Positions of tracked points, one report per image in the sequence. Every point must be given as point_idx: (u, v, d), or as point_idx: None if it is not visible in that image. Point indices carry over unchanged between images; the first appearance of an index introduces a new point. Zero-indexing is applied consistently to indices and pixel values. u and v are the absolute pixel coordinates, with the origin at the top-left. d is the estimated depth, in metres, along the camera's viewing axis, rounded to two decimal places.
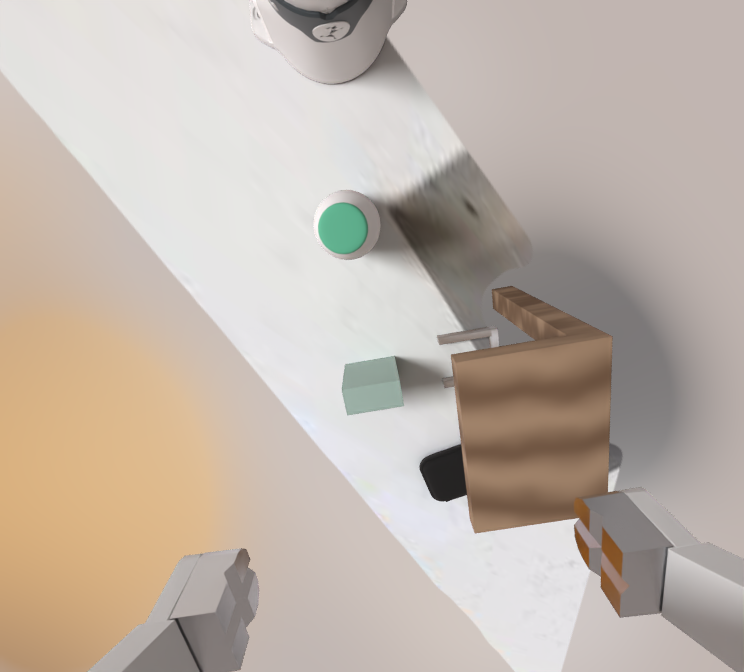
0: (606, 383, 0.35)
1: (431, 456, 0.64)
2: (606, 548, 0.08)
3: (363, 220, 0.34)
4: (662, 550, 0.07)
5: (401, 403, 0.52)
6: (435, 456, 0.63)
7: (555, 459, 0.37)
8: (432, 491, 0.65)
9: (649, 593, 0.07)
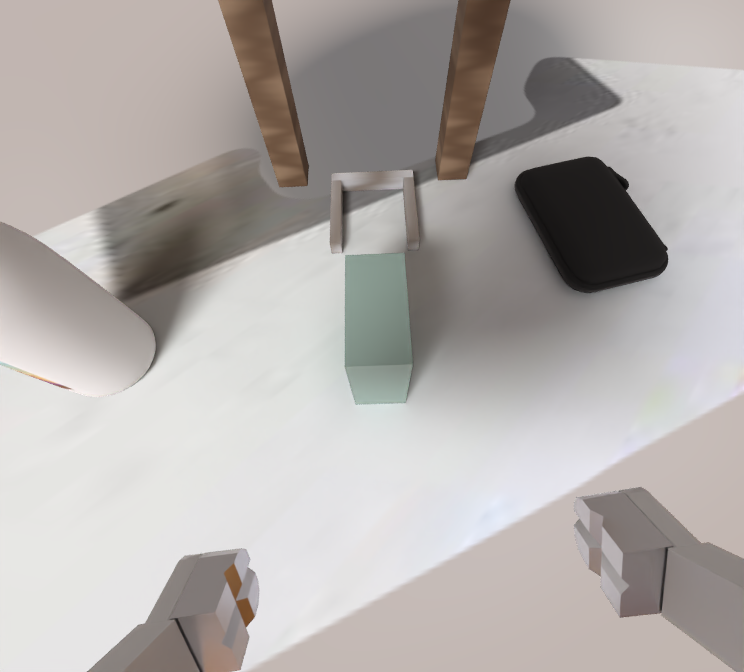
0: None
1: (561, 269, 0.33)
2: (606, 548, 0.08)
3: None
4: (662, 550, 0.07)
5: (397, 256, 0.25)
6: (560, 261, 0.33)
7: None
8: (644, 268, 0.32)
9: (649, 593, 0.07)
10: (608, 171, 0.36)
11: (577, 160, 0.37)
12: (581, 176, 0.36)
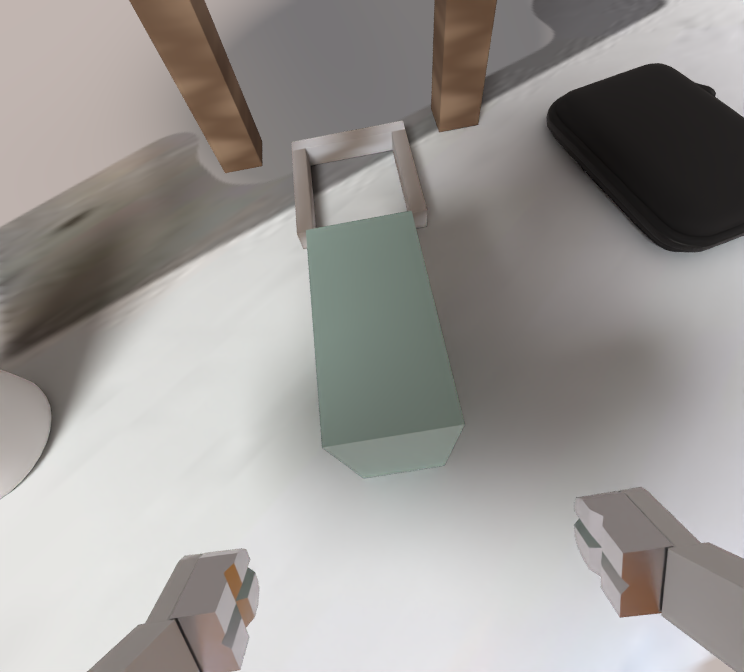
0: None
1: (647, 223, 0.22)
2: (606, 548, 0.08)
3: None
4: (662, 550, 0.07)
5: (400, 218, 0.14)
6: (643, 211, 0.22)
7: None
8: None
9: (649, 593, 0.07)
10: (684, 77, 0.25)
11: (633, 70, 0.26)
12: (646, 88, 0.25)
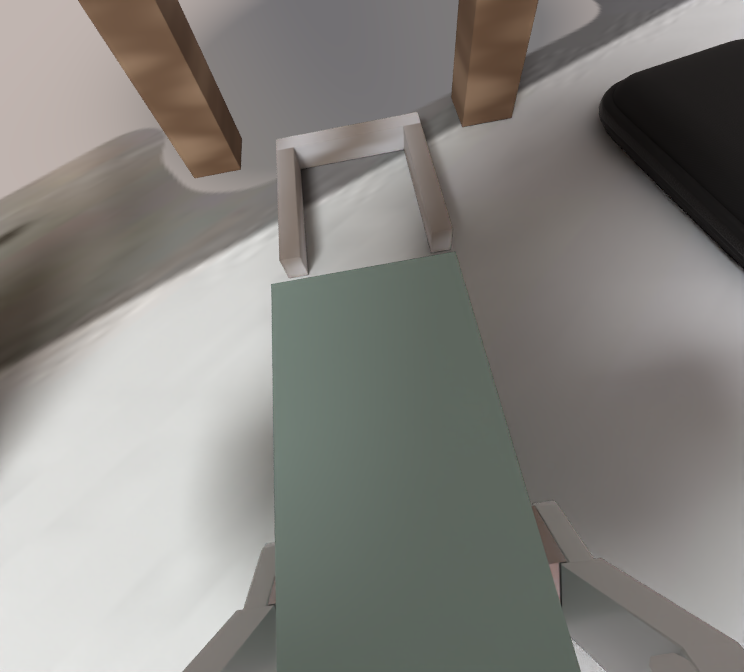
0: None
1: None
2: None
3: None
4: (556, 565, 0.07)
5: (436, 265, 0.08)
6: (743, 236, 0.16)
7: None
8: None
9: None
10: None
11: (717, 48, 0.20)
12: (737, 70, 0.19)
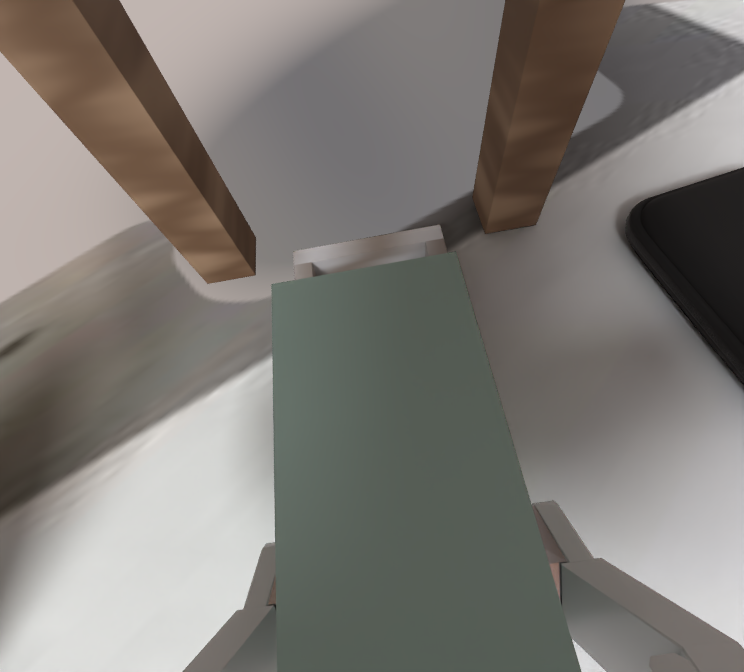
0: None
1: None
2: None
3: None
4: (557, 565, 0.07)
5: (436, 265, 0.08)
6: None
7: None
8: None
9: None
10: None
11: None
12: None
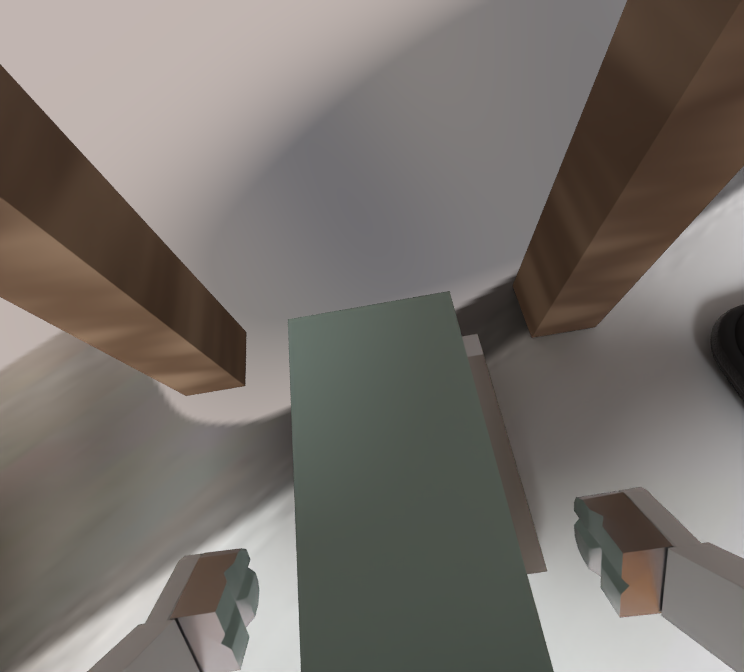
0: None
1: None
2: (606, 548, 0.08)
3: None
4: (662, 550, 0.07)
5: (432, 303, 0.09)
6: None
7: None
8: None
9: (649, 593, 0.07)
10: None
11: None
12: None
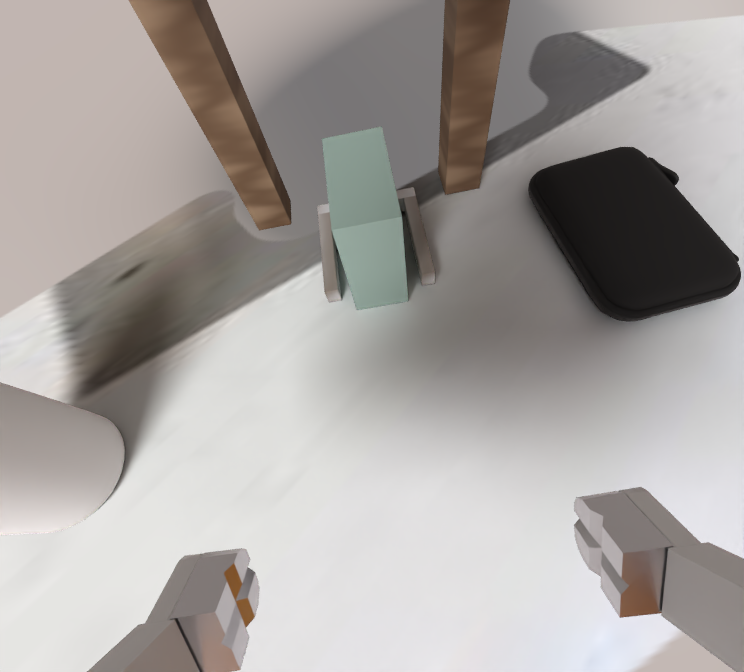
0: None
1: (591, 292, 0.26)
2: (606, 548, 0.08)
3: None
4: (662, 550, 0.07)
5: (375, 130, 0.24)
6: (589, 282, 0.26)
7: None
8: (707, 287, 0.24)
9: (649, 593, 0.07)
10: (649, 163, 0.28)
11: (607, 152, 0.30)
12: (613, 171, 0.28)
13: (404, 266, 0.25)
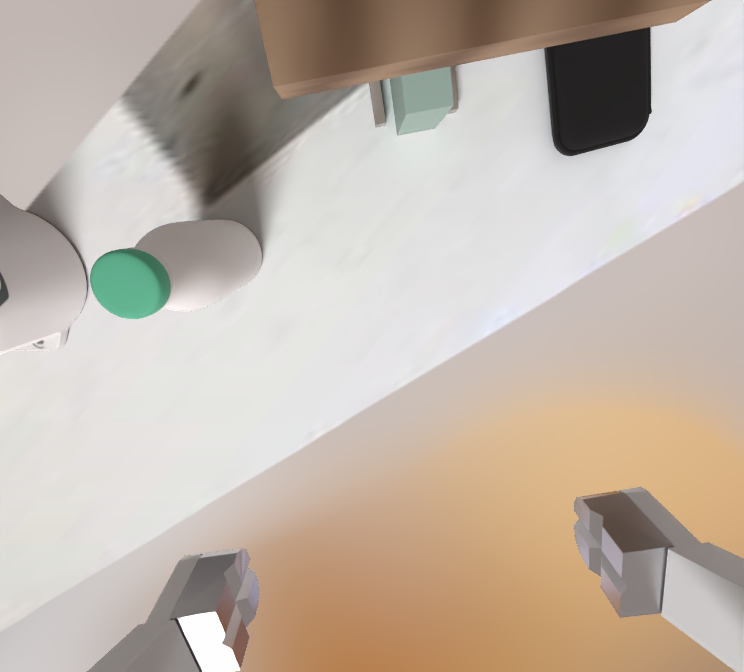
0: None
1: (553, 131, 0.39)
2: (606, 548, 0.08)
3: (107, 257, 0.24)
4: (662, 550, 0.07)
5: None
6: (555, 124, 0.38)
7: None
8: (620, 136, 0.38)
9: (649, 593, 0.07)
10: None
11: None
12: None
13: (442, 118, 0.35)
